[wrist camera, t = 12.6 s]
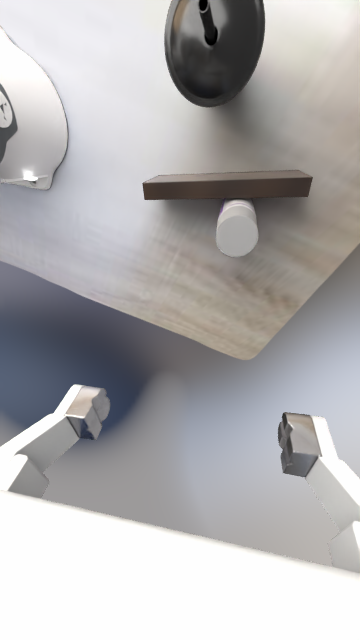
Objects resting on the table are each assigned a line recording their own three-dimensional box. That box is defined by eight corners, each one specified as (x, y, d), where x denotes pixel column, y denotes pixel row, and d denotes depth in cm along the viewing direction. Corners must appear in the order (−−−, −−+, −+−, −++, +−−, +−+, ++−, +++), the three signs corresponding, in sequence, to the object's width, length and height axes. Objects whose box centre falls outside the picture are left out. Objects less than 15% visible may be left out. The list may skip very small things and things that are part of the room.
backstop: (159, 190, 38) (144, 200, 32) (158, 175, 37) (142, 182, 30) (295, 186, 34) (308, 197, 28) (298, 169, 33) (312, 177, 27)
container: (239, 228, 39) (240, 266, 27) (215, 211, 38) (205, 243, 26) (259, 201, 36) (269, 230, 24) (233, 182, 35) (232, 204, 24)
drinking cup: (266, 81, 29) (302, 10, 13) (213, 133, 32) (191, 127, 17) (231, 6, 26) (223, -202, 10) (178, 72, 30) (111, -3, 14)
